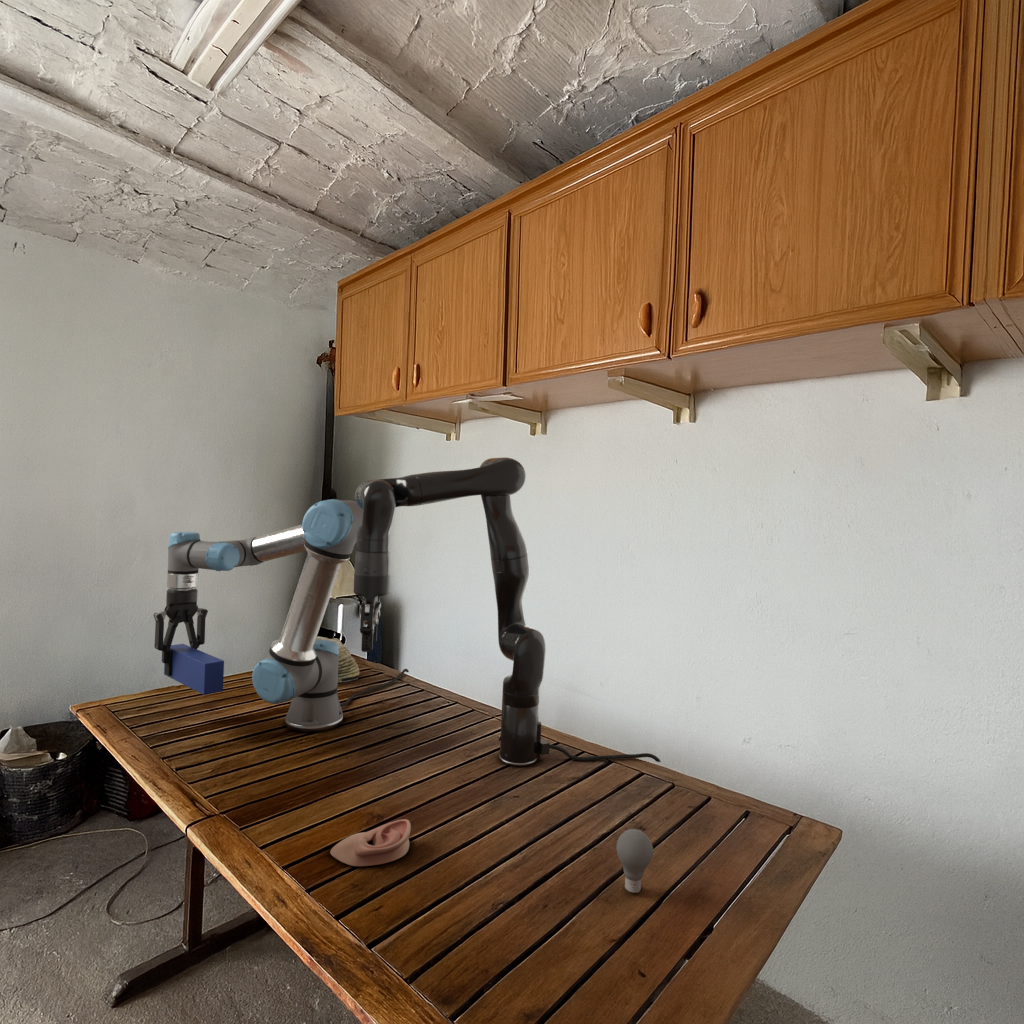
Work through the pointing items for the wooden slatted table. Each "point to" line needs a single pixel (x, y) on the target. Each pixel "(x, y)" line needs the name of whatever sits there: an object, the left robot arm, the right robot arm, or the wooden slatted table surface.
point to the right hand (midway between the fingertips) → (369, 646)
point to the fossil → (345, 663)
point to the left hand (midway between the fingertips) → (178, 672)
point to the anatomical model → (374, 845)
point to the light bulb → (634, 857)
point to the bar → (196, 669)
